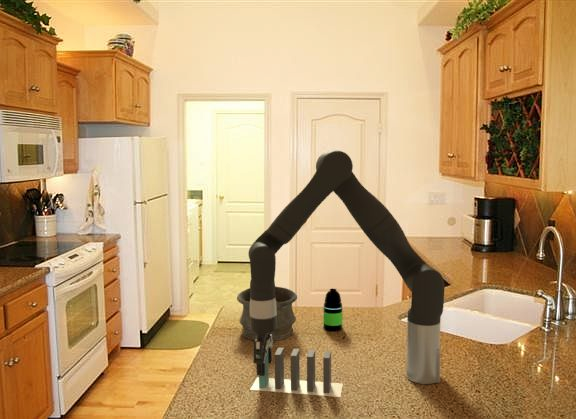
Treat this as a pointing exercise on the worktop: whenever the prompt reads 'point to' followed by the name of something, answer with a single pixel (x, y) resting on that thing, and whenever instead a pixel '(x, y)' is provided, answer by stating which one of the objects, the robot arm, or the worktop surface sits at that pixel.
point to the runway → (299, 388)
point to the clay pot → (283, 313)
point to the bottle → (332, 311)
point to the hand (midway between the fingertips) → (264, 368)
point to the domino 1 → (264, 379)
